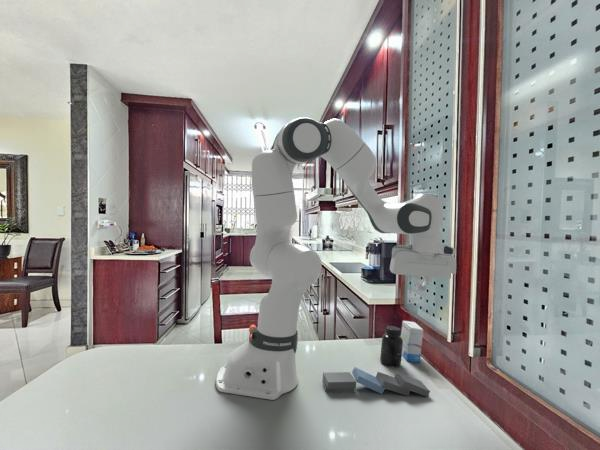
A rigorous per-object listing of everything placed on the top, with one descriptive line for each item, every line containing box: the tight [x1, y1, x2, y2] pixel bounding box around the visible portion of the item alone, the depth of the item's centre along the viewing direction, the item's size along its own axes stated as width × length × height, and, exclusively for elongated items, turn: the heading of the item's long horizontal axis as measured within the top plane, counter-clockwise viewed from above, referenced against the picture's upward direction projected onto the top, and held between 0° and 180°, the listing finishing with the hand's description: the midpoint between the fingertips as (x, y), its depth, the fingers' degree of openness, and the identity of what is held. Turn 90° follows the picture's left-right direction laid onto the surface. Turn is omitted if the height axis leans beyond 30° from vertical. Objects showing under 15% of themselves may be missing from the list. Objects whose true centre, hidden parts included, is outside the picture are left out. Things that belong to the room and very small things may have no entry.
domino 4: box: [375, 371, 411, 397], centre depth 82 cm, size 2×5×8 cm
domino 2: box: [322, 380, 356, 394], centre depth 81 cm, size 2×5×8 cm
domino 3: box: [352, 366, 386, 395], centre depth 82 cm, size 2×5×8 cm
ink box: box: [400, 320, 424, 363], centre depth 106 cm, size 9×5×12 cm, turn 179°
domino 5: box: [394, 371, 431, 398], centre depth 82 cm, size 2×5×8 cm
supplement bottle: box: [379, 325, 403, 368], centre depth 99 cm, size 7×7×12 cm
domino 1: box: [322, 371, 357, 389], centre depth 81 cm, size 2×5×8 cm
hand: (420, 290), depth 91 cm, fingers closed
